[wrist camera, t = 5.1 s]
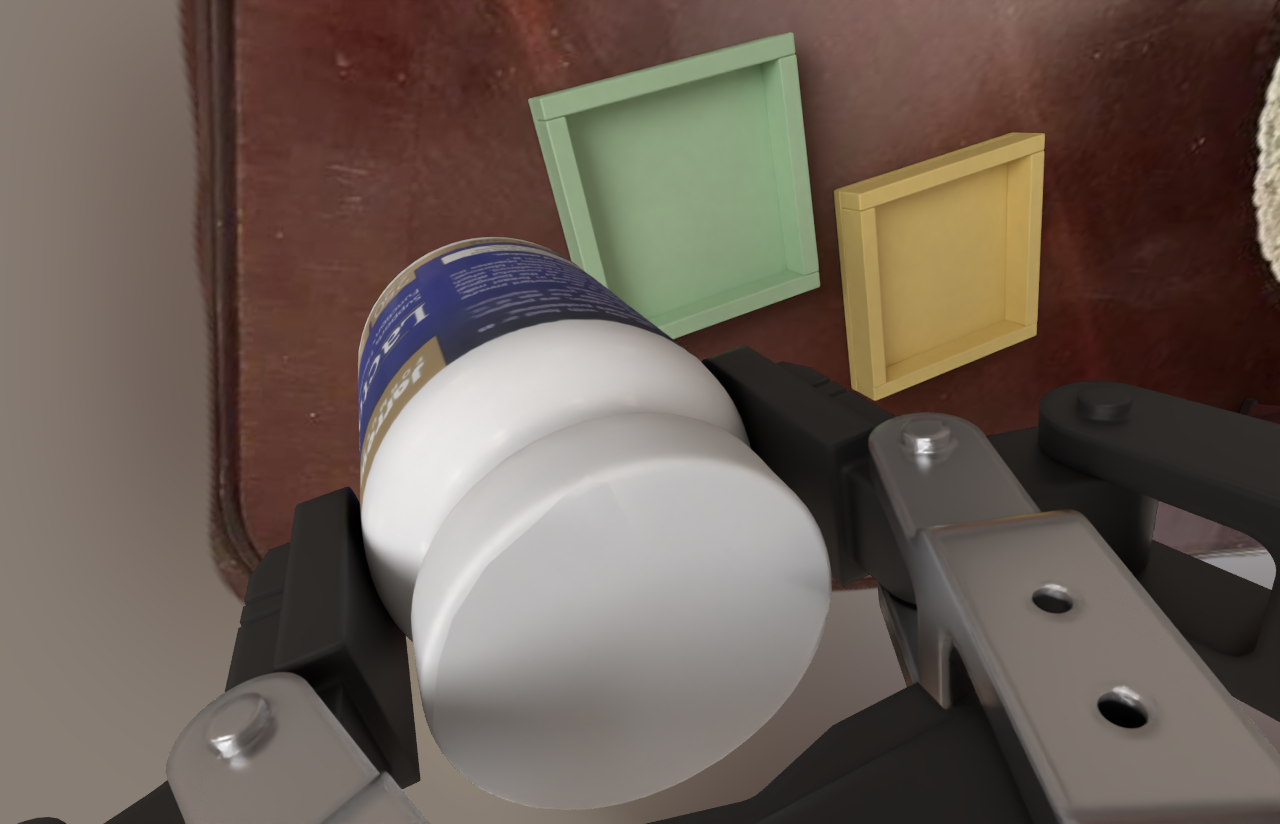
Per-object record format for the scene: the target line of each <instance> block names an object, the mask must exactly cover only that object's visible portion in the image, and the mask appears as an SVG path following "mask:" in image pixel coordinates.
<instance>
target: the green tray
mask: <svg viewBox="0 0 1280 824" xmlns="http://www.w3.org/2000/svg"><path fill="white" fill-rule="evenodd" d="M528 102H529V106H530V109H531V113H532V117H533V120H534V124H535V128H536V131H537V135H538V139H539V142H540V146H541V150H542V154H543V157H544V161H545V165H546V168H547V172H548V176H549V179H550V183H551V187H552V191H553V194H554V198H555V202H556V205H557V209H558V213H559V216H560V220H561V224H562V227H563V231H564V235H565V239H566V242H567V246H568V250H569V253H570V257H571V261H572V262H573V263H575V264H576V265H578V266H579V267H580V268H581V269H583V270H584V271H585V272H586V273H588V274H589V275H591V276H592V277H594V278H595V279H596V280H597V281H598V282H600V283H601V284H602V285H604V286H605V287H606V288H608V289H609V290H610V291H612V292H613V293H614V294H615V295H616V296H617V297H619V298H620V299H621V300H622V301H624V302H625V303H626V304H628V305H629V306H630V307H632V308H633V309H634V310H635V311H637V312H638V313H639V314H641V315H642V316H643V317H645V318H646V319H647V320H649V321H650V322H651V323H653V324H654V325H655V326H656V327H658V328H659V329H660V330H662V331H663V332H664V333H666V334H667V335H668V336H670V337H671V338H672V339H675V338H678V337H681V336H684V335H686V334H689V333H692V332H695V331H698V330H700V329H703V328H706V327H709V326H712V325H714V324H717V323H720V322H723V321H726V320H728V319H731V318H734V317H737V316H740V315H742V314H745V313H748V312H751V311H754V310H756V309H759V308H762V307H765V306H768V305H770V304H773V303H776V302H779V301H782V300H784V299H787V298H790V297H793V296H796V295H798V294H801V293H804V292H807V291H810V290H812V289H815V288H818V287H820V279H819V272H818V270H819V265H818V256H817V246H816V237H815V227H814V218H813V209H812V199H811V190H810V180H809V171H808V161H807V152H806V142H805V133H804V124H803V114H802V105H801V95H800V86H799V76H798V67H797V57H796V55H795V43H794V34H793V33H785V34H780V35H775V36H769V37H765V38H761V39H757V40H753V41H749V42H746V43H742V44H738V45H734V46H730V47H726V48H723V49H719V50H715V51H711V52H707V53H703V54H699V55H696V56H692V57H688V58H684V59H680V60H676V61H672V62H669V63H665V64H661V65H657V66H653V67H649V68H645V69H642V70H638V71H634V72H630V73H626V74H622V75H618V76H615V77H611V78H607V79H603V80H599V81H595V82H592V83H588V84H584V85H580V86H576V87H572V88H568V89H565V90H561V91H557V92H553V93H549V94H545V95H541V96H538V97H534V98H530V99H528Z"/></svg>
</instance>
